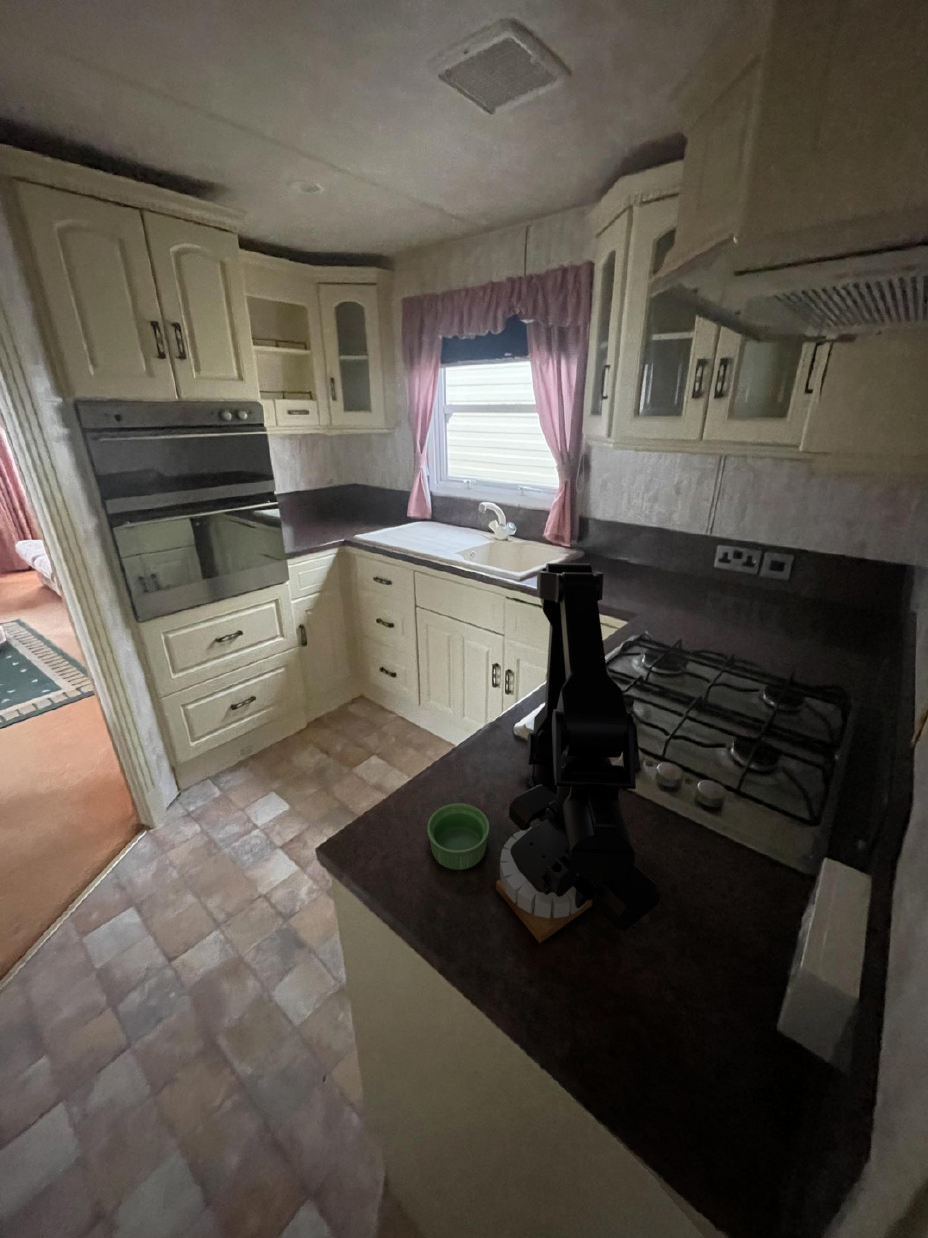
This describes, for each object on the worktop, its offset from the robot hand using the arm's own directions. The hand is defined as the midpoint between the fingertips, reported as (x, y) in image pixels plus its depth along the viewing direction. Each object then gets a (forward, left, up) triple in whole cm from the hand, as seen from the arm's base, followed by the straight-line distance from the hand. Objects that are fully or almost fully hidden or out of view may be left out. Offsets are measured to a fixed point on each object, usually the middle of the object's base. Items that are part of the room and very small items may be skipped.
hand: (571, 897), depth 63 cm
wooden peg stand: (-5, 0, -5) cm, 7 cm away
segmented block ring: (-5, 0, -1) cm, 5 cm away
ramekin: (-18, -5, -6) cm, 19 cm away
